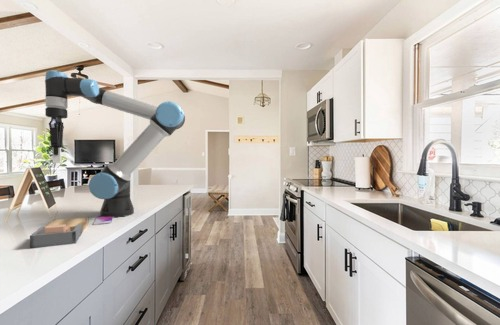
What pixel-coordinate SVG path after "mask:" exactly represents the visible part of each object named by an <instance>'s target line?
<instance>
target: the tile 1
mask: <svg viewBox="0 0 500 325" xmlns="http://www.w3.org/2000/svg"><path fill="white" fill-rule="evenodd" d="M46 226H47V225H46ZM58 232H66V224H64V225H51V226H47V227H46V228H45V234H47V233H58Z"/></svg>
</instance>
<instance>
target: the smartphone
mask: <svg viewBox="0 0 500 325" xmlns="http://www.w3.org/2000/svg"><path fill="white" fill-rule="evenodd" d="M113 219H114V217H104V216H96V218H95V219H94V221H93V223H92V226H100V225H110V224H112V223H113Z"/></svg>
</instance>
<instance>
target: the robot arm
mask: <svg viewBox="0 0 500 325" xmlns="http://www.w3.org/2000/svg"><path fill="white" fill-rule="evenodd" d="M44 83H45V84H44V85H45V99H43V102H45V110H44V112H45V117H47V118H50V121H49V122H48V127H49V135H50V136H49V137H50V145H49V148H51V149H52V163H53V164H56V163H59V164H61V163H62V149H63V148H64V146H63V140H64V139H63V138H64V130H65V126H64V122H63V121H62V119H67V118H68V108H69V107H68V105H69V104H68V96H70V97H71V96H72V97H73V96H75V97H82V98H84V99H85V100H88V101H90V102H91V103H93V104H96V105H101V106H105V107H107V108H108V107H109V108H111V109H114V110H118V111H120V112H125V113H127V114H129V115H133V116H137V117H141V118H143V119H147V120H149V124H148V126H146V128H145V129H144V130H143V131H141V133H140V134H139V136H137V137H136V138H135V140H134V141H133V142H132V143H130V145H129V146H128V147H127V148H126V149H125V150H124V152H123V153H122V154H121V155H119V157H118V158H117V159H116V160H115V162H113V163H108V164H106V166H105V167H104V168H103V169H102V170H100V172H98V173H96V174H94V175H93V176H92V177H91V178H90V180H89V183H88V189H89V192H90V193H91V195H92V196H93V197H95V198H97V199H100V200H103V201H102V205H101V208H100V211H99V215H100V216H104V217H113V218H120V217H126V216H129V215H133V214H134V213H135V207H134V205H133V202H132V199H131V175H132V174H133V172H134V171H135V170H136V169H137V168H138V167H139V166H140V165H141V163H143V162H144V160H145V159H146V158H147V157H148V156H149V155H150V154H151V152H153V150H154V149H155V148H157V146H158V145H159V144H160V143H161V142H162V141H163V139H164V138H165V137H170V136H172V134H173V133H174V132H175V131H176V130H178V129H180V128H182V127H183V126H184V124H185V120H186V116H185V113H184V110H183V108H182V107H181V106H180V105H179V104H177V103H176V102H173V101H168V100H167V101H164V102H161V103H160V104H159V105H158V106H157V105H154V104H150V103H147V102H143V101H141V100H137V99H135V98H132V97H128V96H125V95H122V94H118V93H115V92H112V91H109V90H106V89H104V88H101V87H99V83H98V82H97V80H95V79H91V78H76V77H68V75H67V73H65V72H62V71H58V70H47V71H45V79H44Z"/></svg>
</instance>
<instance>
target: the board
mask: <svg viewBox="0 0 500 325" xmlns="http://www.w3.org/2000/svg"><path fill="white" fill-rule="evenodd" d="M80 223H82V234H83V233H84V231H85V230H86V228H87V226H88V224H89V217H88V216H87V217H86V216H85V217H75V218H73V217H72V218H61V219H52V221H50V222H49V223H48V224H46V225H45V226H44V227H45V228H46V227H47V226H51V225H64V224H66V226H70V231H73V230H74V229H75V227H76V226H77V225H78V224H80Z"/></svg>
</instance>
